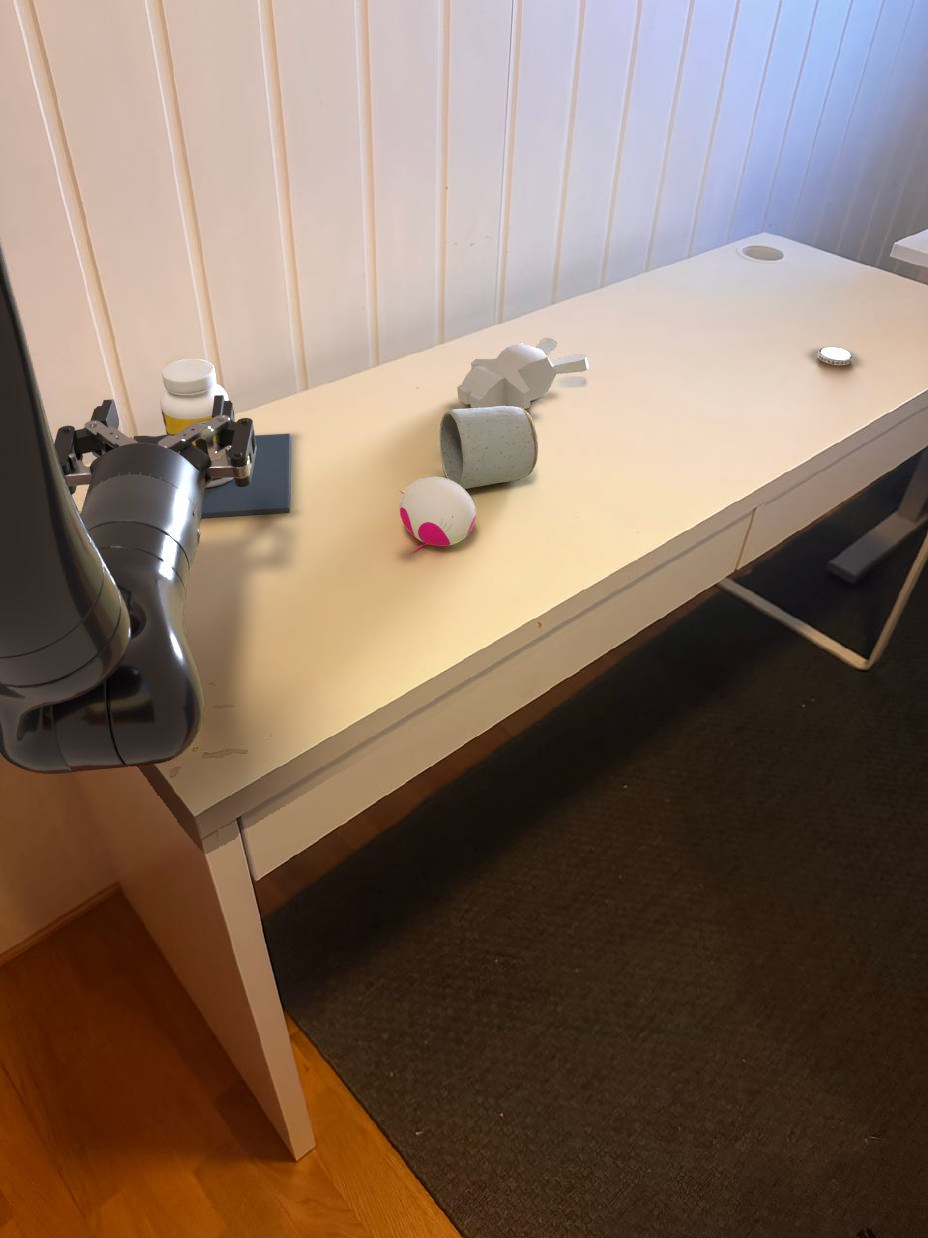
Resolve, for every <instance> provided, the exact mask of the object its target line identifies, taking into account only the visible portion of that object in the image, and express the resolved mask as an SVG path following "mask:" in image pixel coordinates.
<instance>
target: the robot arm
mask: <svg viewBox="0 0 928 1238" xmlns="http://www.w3.org/2000/svg"><path fill="white" fill-rule="evenodd" d="M24 327H25V326H24V324H23V320H22V316H21V313H20V308H19V306H18V301H17V299H16V295H15V291H14V288H13V284H12V280H11V276H10V272H9V268H8V264H7V260H6V256H5V252H4V247H3V243H2V239H1V238H0V755H1V756H2V757H3V758H4V759H5V760H6V761H7V762H8V763H10V764H11V765H13V766H15V767H17V768H19V769H21V770H24V771H27V772H29V773H35V774H40V775H41V774H42V775H58V774H59V775H61V774H70V773H78V772H88V771H99V770H100V771H101V770H110V769H120V768H121V769H122V768H128V767H132V768H133V767H144V766H153V765H160V764H163V763H168V762H170V761H173V760H175V759H177V758H179V757H180V756H181V755H182V754H184V753H185V752H186V751H187V750H188V749H189V748H190V747H191V746H192V745H193V743H194V742H195V740H196V739H197V737H198V735H199V733H200V732H201V729H202V726H203V723H204V717H205V697H204V692H203V686H202V682H201V678H200V675H199V671H198V668H197V666H196V662H195V659H194V656H193V654H192V650H191V647H190V644H189V640H188V635H187V632H186V624H185V623H186V621H185V607H186V606H185V604H186V598H187V592H188V585H189V577H190V573H191V570H192V567H193V565H194V562H195V559H196V554H197V550H198V549H197V548H198V547H199V544H200V539H201V531H200V527H201V520H202V518H201V514H202V506H203V499H204V491H205V487H206V486H207V485H208V484H209V483H210V482H211V481H212V480H213V478H232V477H233V480H234V484H235V486H237V487H246V486H248V485H249V484H250V483H251V478H252V472H253V467H254V461H255V456H256V450H257V447H256V440H255V435H256V434H255V427H254V421H253V419H252V418H249V417H242V418H239V419H238V420H236V416H235V409H234V404H233V402H232V401H231V400H229V401H225V398H224V395H215V396H214V403H213V410H212V419H210V420H209V421H207V422H206V423H204V424H200V423H197V422H196V423H193V424H192V425H190V426H188V427H187V428H185V429H184V430H182V431H180V432H179V433H177V434H169V435H167V434H161V435H156V436H153V435H134V436H133V437H131V436H130V437H129V436H127V435H126V434H124V433H123V432H121V430H119V425H120V417H119V414H118V410H117V409H118V408H117V406H116V402H115V399H113V398H112V399H103V401H102V404H101V405H98V406H96V407H95V408H94V409H93V411H92V413H91V418H90V419H89V420H88V421H86V422H85V423H84V425H83V428H79V429H76V428H75V426H73V425H63V426H61V427H59V428H58V429H57V431H56V435H55V439H53V435H52V432H51V429H50V425H49V420H48V416H47V413H46V409H45V405H44V401H43V397H42V394H41V390H40V386H39V383H38V379H37V378H38V377H37V374H36V370H35V366H34V362H33V358H32V354H31V351H30V346H29V343H28V339H27V335H26V331H25V328H24ZM214 435H215V437H216V441H215V442H213V437H214ZM193 442H195V445H196V446H195V445H193V444H192V443H193ZM89 453H92V456H94V457H95V459H94V460H93V461H92V462H91V463H90V465H89V466H86V465H85V464H84V462H83V459H84V454H89ZM224 453H225V454H224ZM221 455H222V456H221ZM220 456H221V458H220V459H218V457H220ZM217 459H218V460H217ZM78 486H88V488H87V491H86V494H85V497H84V500H83V503H82V506H81V510H79V508H78V506H77V504H76V502H75V499H74V497H73V495H74V494H75V493H76V492H77V487H78Z"/></svg>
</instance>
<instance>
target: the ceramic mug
mask: <svg viewBox="0 0 928 1238" xmlns="http://www.w3.org/2000/svg"><path fill="white" fill-rule="evenodd" d="M438 435H439V437H438V438H439V440H438V441H439V451H440V457H441V458H440V459H441V463H442V468H443V472H444V475H445V478H447V479H450V480H452V481H454V482H456V483H457V484H459V485H460V486H462V487H463V488H464V489H465V490H466V489H467V490H468V489H472V488H478V487H484V486H490V485H494V484H499V483H507V482H514V481H517V480H521V479H524V478H525V477H528V476H529V475H530V474H531V473H532V472H534V471H533V470H534V469H535V467H536V465H537V461H538V457H539V440H538V439H539V437H538V432H537V429H536V425H535V422H534V420H533V418H532V416H531V415H530V413H529V412H528V411H527V410H526V409H523V408H520V407H515V406H511V405H506V406H496V407H485V408H472V407H470V408H457V409H456V408H455V409H448V410H446V411H445V412H444V413H443V415H442V416H441V419H440V423H439V434H438Z"/></svg>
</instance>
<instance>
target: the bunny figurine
mask: <svg viewBox="0 0 928 1238" xmlns="http://www.w3.org/2000/svg"><path fill="white" fill-rule="evenodd" d="M557 346H558V342H557V341H556V339H555V338H551V337H543V338H542V339H540V340H539V342H538V343H537V344H536V346H531V345H528V344H525V343H522V342H517V343H514V344H511V345H509V346H508V347H506V348H504V349H503V350H501V351H500V353H499V354H498V355H497V357H496V358H475V359H474V360H473V361H471V362H470V366H471V369H470V370H469V371H468V372H467V374H465V376H464V378H463V381H462V383H460V384H459V385H458V386H457V387H456V388H457V389H456V390H457V399H458V400H459V401H461V402H463V403H464V404H466V405H470V408H485V407H496V406H515V407H520V408H523V409H525V410H526V409H529V408H531V401H532V402H533V401H535V400H537V399H539V398H540V397H542V396H544V395H546V394H547V393H548V392H549V390H550V388H551V386H552V384H553V382H554V379H555V378H556V375H561V374H573V373H582V372H585V371H588V370H589V368H590V366H589V365H590V364H589V362H588V357H587V356H586V354H582V353H576V354H575V353H574V354H571V355H566V356H563V357H559V358H555V359H552V360H550V359H549V357H548V355H550V354H551V353H552V352H553V351H554V350H555V349H556V347H557Z"/></svg>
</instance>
